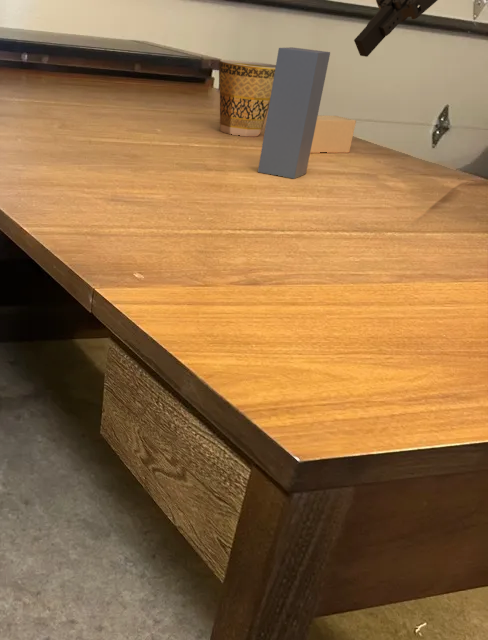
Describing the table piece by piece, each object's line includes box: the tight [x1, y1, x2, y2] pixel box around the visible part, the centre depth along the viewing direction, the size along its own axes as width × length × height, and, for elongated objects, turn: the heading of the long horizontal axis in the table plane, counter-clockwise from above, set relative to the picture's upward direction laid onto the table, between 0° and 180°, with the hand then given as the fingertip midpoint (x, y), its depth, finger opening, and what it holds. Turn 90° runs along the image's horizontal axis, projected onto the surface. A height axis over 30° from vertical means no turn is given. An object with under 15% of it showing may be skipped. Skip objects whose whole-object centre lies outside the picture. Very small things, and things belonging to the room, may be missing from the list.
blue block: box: [257, 47, 331, 180], centre depth 103 cm, size 5×5×14 cm
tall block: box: [310, 114, 357, 154], centre depth 125 cm, size 4×4×12 cm
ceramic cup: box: [218, 59, 276, 137], centre depth 133 cm, size 13×10×10 cm
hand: (360, 48), depth 121 cm, fingers closed
